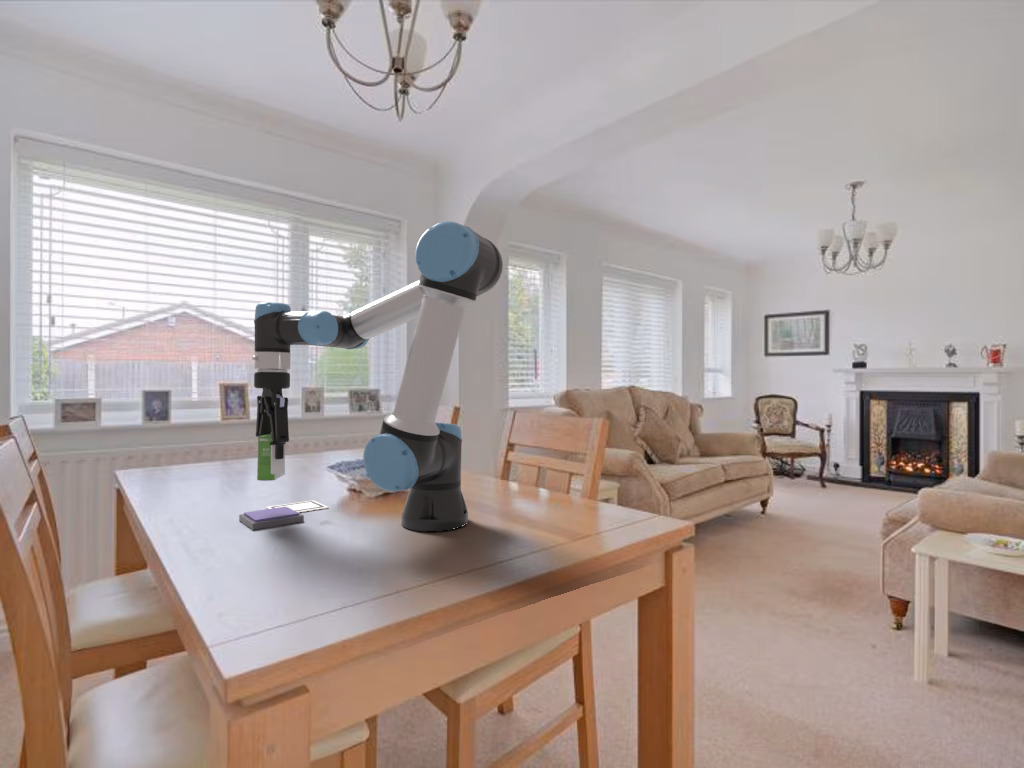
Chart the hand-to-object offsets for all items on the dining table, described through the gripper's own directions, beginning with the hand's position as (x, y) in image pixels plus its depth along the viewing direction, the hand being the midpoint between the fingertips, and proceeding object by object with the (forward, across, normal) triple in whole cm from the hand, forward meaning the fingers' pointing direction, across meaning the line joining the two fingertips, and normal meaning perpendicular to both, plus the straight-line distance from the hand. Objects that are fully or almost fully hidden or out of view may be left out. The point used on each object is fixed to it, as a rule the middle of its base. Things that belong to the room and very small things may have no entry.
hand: (271, 470), depth 124 cm
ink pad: (+12, 0, 0) cm, 12 cm away
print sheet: (+12, -8, +9) cm, 17 cm away
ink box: (+2, 0, 0) cm, 2 cm away
